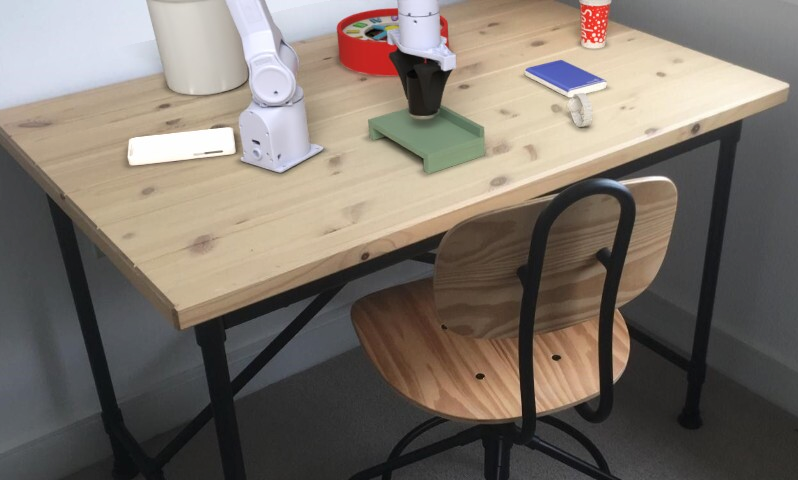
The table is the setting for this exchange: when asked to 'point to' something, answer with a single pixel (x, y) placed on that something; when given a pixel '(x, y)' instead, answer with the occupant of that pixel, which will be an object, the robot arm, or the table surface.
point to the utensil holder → (198, 45)
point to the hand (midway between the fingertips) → (423, 104)
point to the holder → (417, 98)
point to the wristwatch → (576, 105)
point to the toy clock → (372, 41)
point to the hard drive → (565, 78)
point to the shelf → (432, 137)
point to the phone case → (180, 146)
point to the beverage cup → (594, 22)
